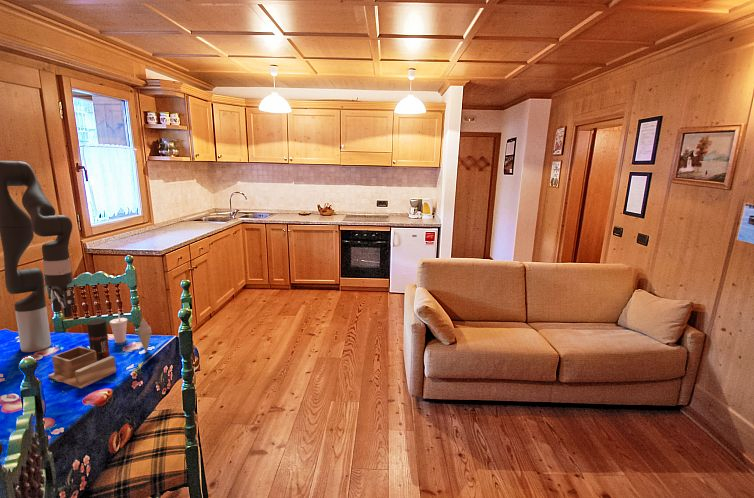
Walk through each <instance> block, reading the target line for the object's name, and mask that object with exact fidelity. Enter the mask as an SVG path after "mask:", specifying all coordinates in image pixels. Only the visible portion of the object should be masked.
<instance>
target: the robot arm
mask: <svg viewBox="0 0 754 498" xmlns="http://www.w3.org/2000/svg"><path fill="white" fill-rule="evenodd" d="M8 187H27V188H26V189H25V191H24V193H23V195H22V197H21V203H22V206H23V208H24V209H25V210H26V211H27V212H25V210H24V209H22V208H21V207H20V206H19V205H18V204H17V203H16V202H15V200H14V199H13V198H12V196H11V194H10V192H9V188H8ZM72 231H73V222H72V220H71V218H70V217H69V216H66V215H63V214H59V215H57V214H56V209H55V207H54V206H53V205H52V203H51V202H50V201H49V200H48V198H47V197H46V195H45V193H44V191H43V190H42V187H41V184H40V182H39V180H38V178H37V175H36V174H35V171H34V170H33V167H32V166H31V165H30V164H29V163H27V162H26V161H19V160H18V161H17V160H0V241H1V246H2V253H3V262H4V263H3V264H4V265H3V266H4V282H5V289H6V291H7V292H8V294H10V295H19V294H24V293H25V294H27V293H30V294H29V295H28V296H25V297H24V298H22V299H19V300H18V301H16V302H14V312H15V318H16V324H17V333H18V340H19V345H20V350H21V352H22V353H32V352H33V353H36V352H38V351H42V350H46V349H48V348H50V347H51V345H52V339H51V332H50V331H51V330H50V325H49V318H48V309H47V302H46V295H45V294H46V291H45V286H46V287H47V296H48V299H49V300H50V302H51V303H52V311H53V312H54V313H57V312H61V311H62V312H63V317H64V318H69V317H72V316H73V309H72V307H74V306H75V299H74V293H73V292H74V291H73V289H69V287H68V286H69V285H71V284H72V283H73V274H72V273H73V271H72V264H71V258H70V252H69V244H70V238H71V234H72ZM34 234H35V235H37V236H39V237H43V238H45V237H55V236H56V238H55V239H54V240H52V241H49V242H45V243H44V244H42V245H41V253H42V264H43V265H42V269H43V271H42V270H41V269H40V268H38V267H31V268H24V269H18V266H19V263H20V259H21V258H22V256H23V254H24V253H25V251H26V250H27V248H28V247H29V246H30V245H31V243H32V241H33V239H34V236H35V235H34Z"/></svg>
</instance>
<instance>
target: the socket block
mask: <svg viewBox="0 0 754 498" xmlns="http://www.w3.org/2000/svg"><path fill="white" fill-rule="evenodd" d="M51 358H52V365H53V366H52V367H53V373H55V374H58V375H61V376H64V377H67V378H70V379H71V378H74V377H76V376H75V371H76V370H79V369H81V368H83V367H86V366H88V365H90V364H93V363H95V362H98V361H97V356H96V351H95V350H92V349H90V348H88V347H84V346H81V345H80V346H76V347H74V348H71V349H68V350H66V351H63V352H60V353H57V354H55V355H52V356H51Z"/></svg>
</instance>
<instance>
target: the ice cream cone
mask: <svg viewBox="0 0 754 498" xmlns="http://www.w3.org/2000/svg"><path fill="white" fill-rule="evenodd" d="M136 332H137V336H138V338H139V340H140V342H141V344H142V347H143V349H144V351H145V352H148V349H149V345H150V341H151V336H152V333H153V331H152V328H151V326H150V325H149V324H148V322H147V321H146V320H145V318H144V317H142V320H141V321H140V323H139V327H137V331H136Z"/></svg>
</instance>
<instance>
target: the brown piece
mask: <svg viewBox="0 0 754 498" xmlns="http://www.w3.org/2000/svg"><path fill="white" fill-rule="evenodd" d="M115 373H117V368H116V357H115V356H113V355H110V356H109V357H107V358H105V359H102V360H100V361H97V362H95V363H93V364H90V365H88V366H86V367H83V368H81V369H79V370H76V371H75V376H76V377H74V378H71V379H70V378H67V377H64V376H61V375H58V374H55V373H54V372H52V373H50V374H48V378H49V379H52V380H55V381H58V382H61V383H64V384H67V385H70V386H72V387H75V388H79V389H84V387H88V386H89V385H91V384H94V383H95V382H98V381H100V380H102V379H104V378H107V377H109V376H111V375H113V374H115Z"/></svg>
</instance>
